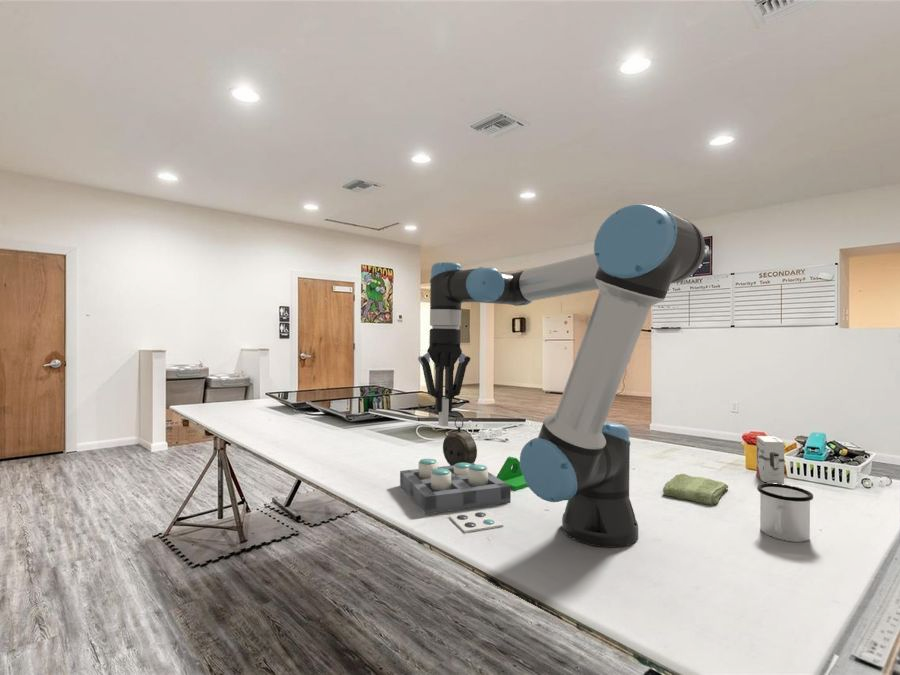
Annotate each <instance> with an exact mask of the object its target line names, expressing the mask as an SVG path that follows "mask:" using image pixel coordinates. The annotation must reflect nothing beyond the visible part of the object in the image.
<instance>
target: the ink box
mask: <svg viewBox="0 0 900 675" xmlns="http://www.w3.org/2000/svg"><path fill="white" fill-rule="evenodd" d="M757 475H758V476H759V477H760V478H761V479H762V480H763V481H764V482H767V483H777V484H784V485H785V441H784V440H781V438H779V437H777V436H773V435H770V436H769V435H768V436H767V435H756V476H757ZM758 476H757V477H758ZM759 477H758V478H759ZM760 478H759V479H760ZM761 479H760V480H761ZM762 480H761V481H762ZM763 481H762V482H763ZM764 482H763V483H764ZM767 483H766V484H767Z"/></svg>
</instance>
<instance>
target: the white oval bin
mask: <svg viewBox="0 0 900 675" xmlns="http://www.w3.org/2000/svg"><path fill="white" fill-rule="evenodd" d="M756 488H757V489H756V490H757V491H758V492H759V493H760V494H759V496H760V500H759V502H760V503H759V504H760V508H759V509H760V512H759V515H760V517H759V522H760V524H759V526H760V528H759V529H760V530H761V531H762V532H763V533H764V534H765V535H767V536H769V537H771V536H772V537H771V538H775V539H777V540H781V541H784V540H785V542H790V541H791V542H793V543H803V541H804V542H807V541H809V540H810V538H811V536H810V535H811V534H810V532H811V528H810V526H811V522H810V521H811V520H810V519H811V518H810V517H811V515H810V514H811V513H810V512H811V501H812V500H813V499H814V494H813V493H812V492H810V491H808V490H806V489H804V488H801V487H798V486H794V485H788V484H784V485H783V484H773V483H760V484H758V485H757V487H756Z"/></svg>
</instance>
